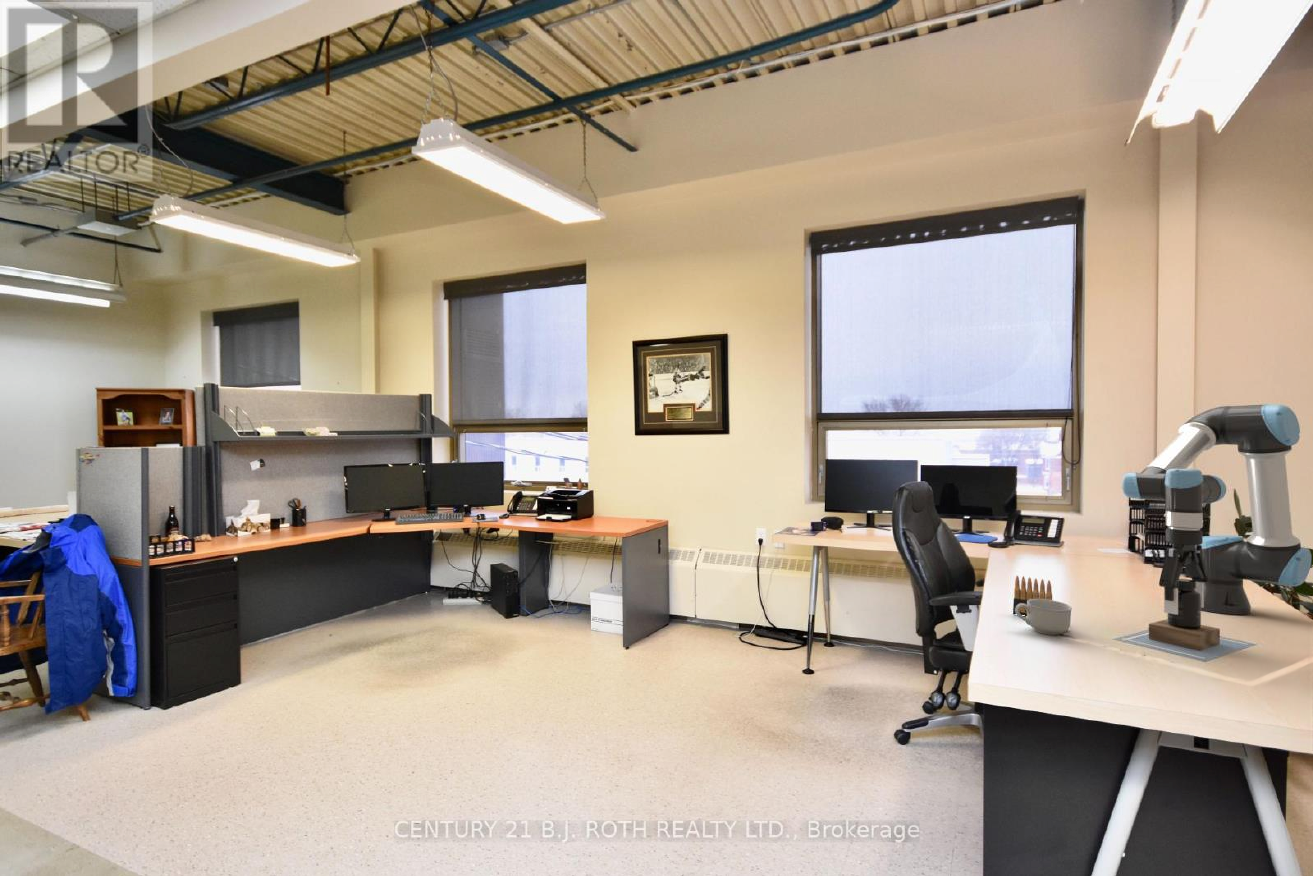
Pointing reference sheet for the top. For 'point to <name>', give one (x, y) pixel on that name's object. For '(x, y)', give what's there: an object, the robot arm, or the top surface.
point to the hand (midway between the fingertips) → (1184, 610)
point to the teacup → (1046, 616)
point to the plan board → (1202, 655)
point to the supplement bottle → (1187, 606)
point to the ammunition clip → (1029, 593)
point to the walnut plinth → (1184, 635)
